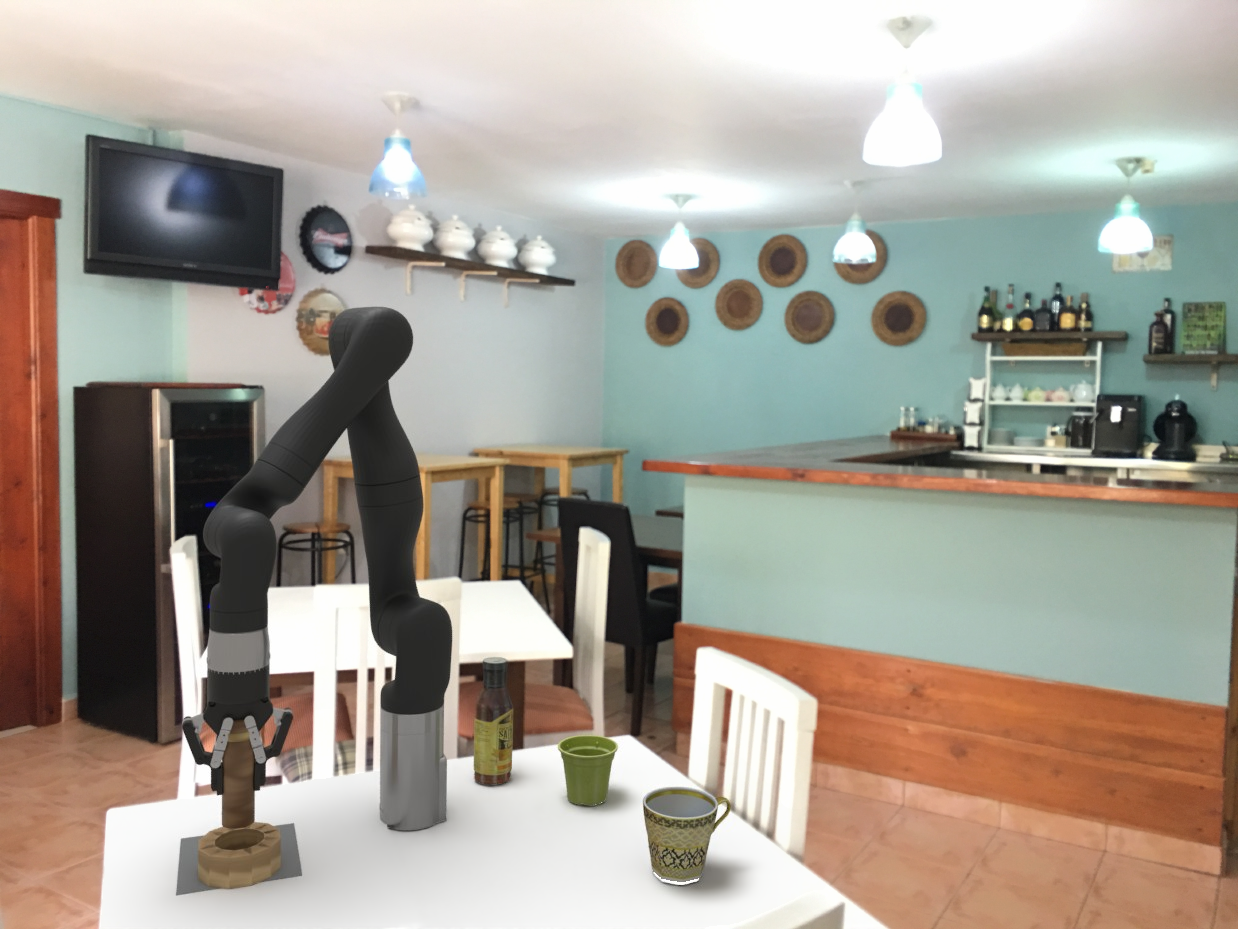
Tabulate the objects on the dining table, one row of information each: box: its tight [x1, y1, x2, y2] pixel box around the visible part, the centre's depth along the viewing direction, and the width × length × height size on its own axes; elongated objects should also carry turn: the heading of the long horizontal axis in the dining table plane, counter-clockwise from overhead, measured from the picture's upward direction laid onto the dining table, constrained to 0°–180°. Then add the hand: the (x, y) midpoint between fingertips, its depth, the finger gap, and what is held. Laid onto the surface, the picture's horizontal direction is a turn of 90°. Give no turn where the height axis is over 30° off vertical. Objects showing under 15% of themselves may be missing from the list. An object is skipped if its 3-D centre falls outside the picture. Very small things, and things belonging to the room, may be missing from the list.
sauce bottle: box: [473, 656, 514, 786], centre depth 161 cm, size 7×6×20 cm
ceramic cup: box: [642, 786, 731, 882], centre depth 133 cm, size 13×10×10 cm
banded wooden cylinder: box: [221, 720, 256, 829], centre depth 129 cm, size 4×4×14 cm
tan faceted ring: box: [198, 821, 281, 890], centre depth 130 cm, size 10×10×4 cm
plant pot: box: [557, 734, 619, 806], centre depth 155 cm, size 9×9×9 cm
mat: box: [175, 822, 303, 896], centre depth 133 cm, size 15×16×1 cm
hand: (238, 790), depth 129 cm, fingers closed on banded wooden cylinder, 4 cm apart
